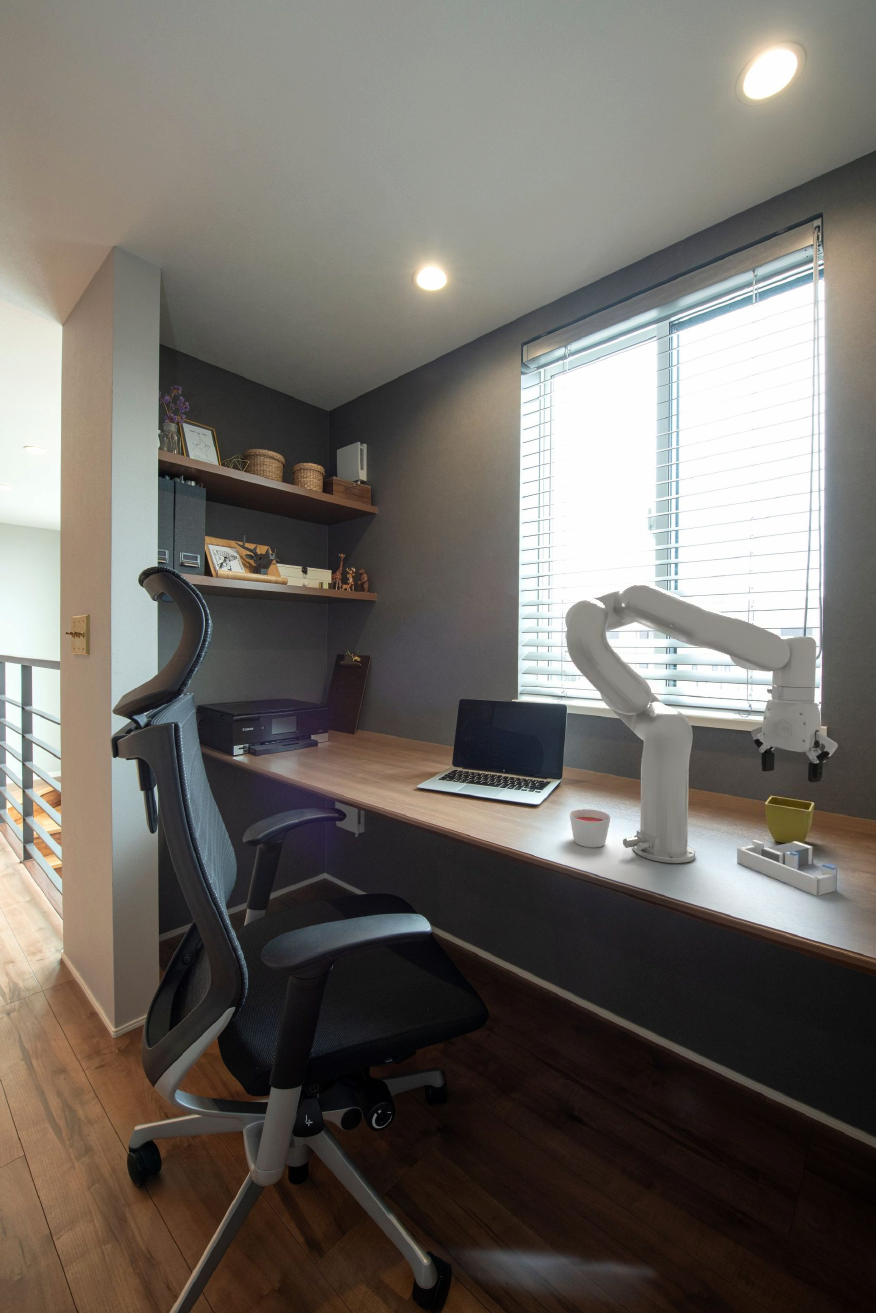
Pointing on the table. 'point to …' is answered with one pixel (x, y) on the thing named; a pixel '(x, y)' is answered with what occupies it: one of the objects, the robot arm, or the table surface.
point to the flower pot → (788, 819)
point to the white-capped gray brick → (779, 851)
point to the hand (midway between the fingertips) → (790, 775)
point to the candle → (589, 827)
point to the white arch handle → (788, 870)
